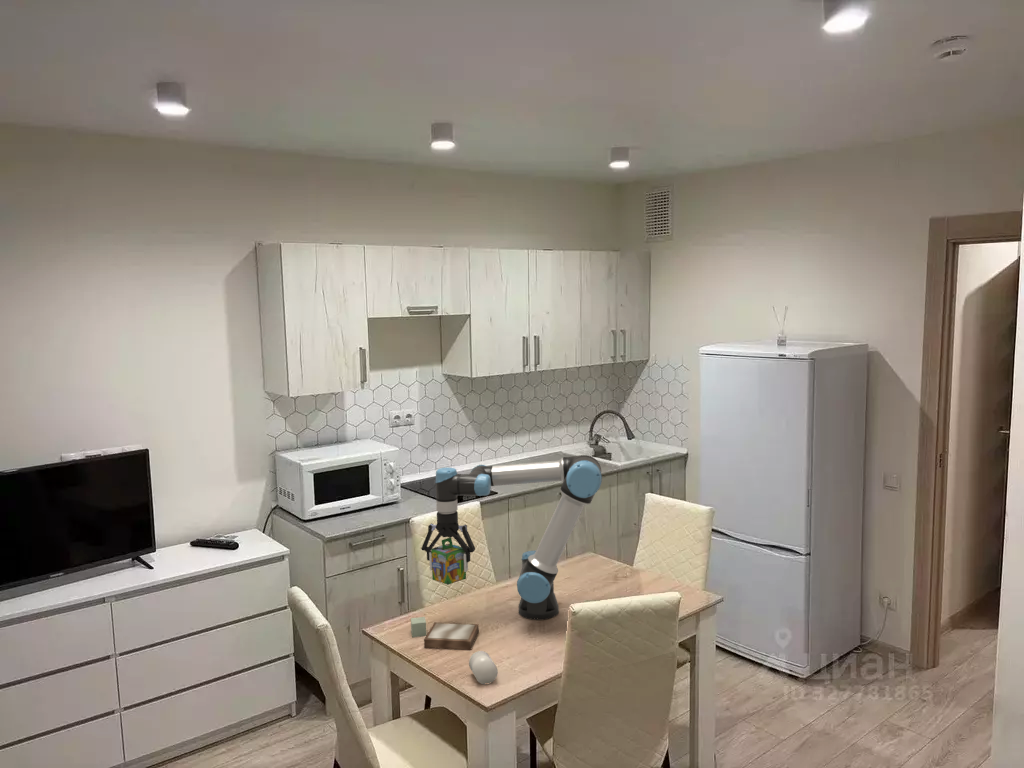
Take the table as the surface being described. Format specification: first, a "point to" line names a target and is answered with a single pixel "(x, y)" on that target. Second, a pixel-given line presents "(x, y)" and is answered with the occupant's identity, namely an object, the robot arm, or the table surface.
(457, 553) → the chalk box
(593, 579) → the table surface
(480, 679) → the white rounded capsule
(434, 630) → the podium
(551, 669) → the table surface
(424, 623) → the sage block
